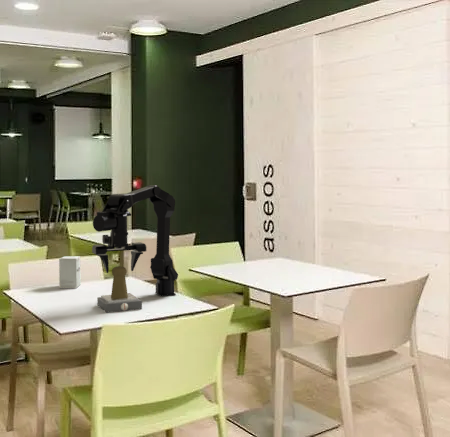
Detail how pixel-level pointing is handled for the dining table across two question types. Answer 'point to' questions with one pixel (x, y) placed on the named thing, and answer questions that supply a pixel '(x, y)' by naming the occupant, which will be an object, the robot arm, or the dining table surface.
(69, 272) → the supplement box
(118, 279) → the cork
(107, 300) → the kitchen scale
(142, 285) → the dining table surface
